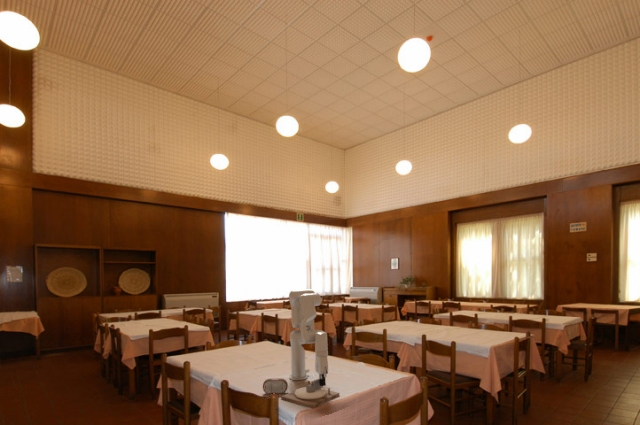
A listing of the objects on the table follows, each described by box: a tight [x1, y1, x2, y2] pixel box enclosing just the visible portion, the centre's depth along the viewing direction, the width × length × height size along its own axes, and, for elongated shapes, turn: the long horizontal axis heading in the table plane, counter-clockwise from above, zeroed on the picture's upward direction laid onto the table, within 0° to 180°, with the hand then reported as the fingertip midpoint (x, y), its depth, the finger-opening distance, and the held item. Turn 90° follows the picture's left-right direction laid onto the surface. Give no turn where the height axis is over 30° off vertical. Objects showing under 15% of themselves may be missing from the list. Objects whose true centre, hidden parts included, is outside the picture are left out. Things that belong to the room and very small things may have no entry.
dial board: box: [280, 380, 340, 409], centre depth 221 cm, size 24×24×6 cm
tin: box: [262, 378, 289, 395], centre depth 230 cm, size 15×3×8 cm, turn 92°
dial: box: [294, 378, 327, 400], centre depth 222 cm, size 18×18×6 cm
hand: (322, 385), depth 225 cm, fingers closed
